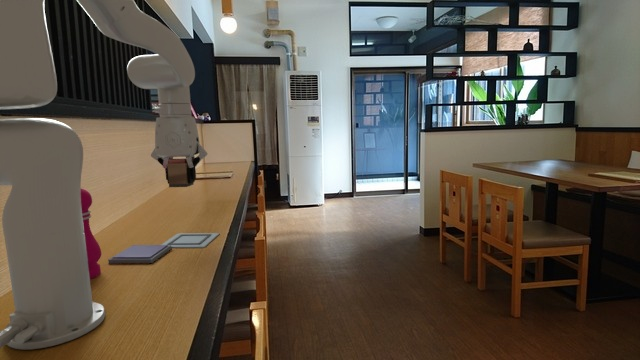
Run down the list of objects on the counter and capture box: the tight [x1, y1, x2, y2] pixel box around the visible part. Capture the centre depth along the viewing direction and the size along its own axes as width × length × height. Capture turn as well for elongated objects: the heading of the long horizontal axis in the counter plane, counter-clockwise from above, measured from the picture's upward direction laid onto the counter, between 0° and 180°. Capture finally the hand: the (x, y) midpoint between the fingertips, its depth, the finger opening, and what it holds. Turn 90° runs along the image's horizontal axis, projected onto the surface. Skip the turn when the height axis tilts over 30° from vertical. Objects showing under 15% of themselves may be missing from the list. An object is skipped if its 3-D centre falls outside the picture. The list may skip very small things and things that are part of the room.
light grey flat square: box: [160, 232, 220, 249], centre depth 101 cm, size 12×12×1 cm
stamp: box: [167, 157, 195, 188], centre depth 98 cm, size 5×5×7 cm
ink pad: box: [107, 244, 172, 265], centre depth 90 cm, size 10×10×1 cm
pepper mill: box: [81, 188, 102, 280], centre depth 77 cm, size 7×7×20 cm
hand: (181, 182), depth 98 cm, fingers closed on stamp, 4 cm apart
